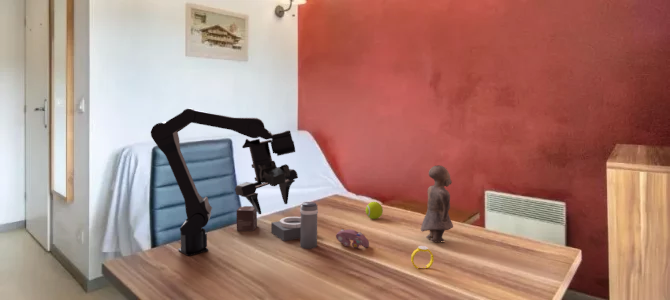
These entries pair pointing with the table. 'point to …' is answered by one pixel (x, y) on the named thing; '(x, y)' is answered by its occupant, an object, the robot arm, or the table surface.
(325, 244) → the table surface
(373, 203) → the tennis ball
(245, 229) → the box
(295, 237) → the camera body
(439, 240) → the clay figurine
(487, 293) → the table surface
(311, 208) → the grey travel tumbler
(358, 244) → the video game controller
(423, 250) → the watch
